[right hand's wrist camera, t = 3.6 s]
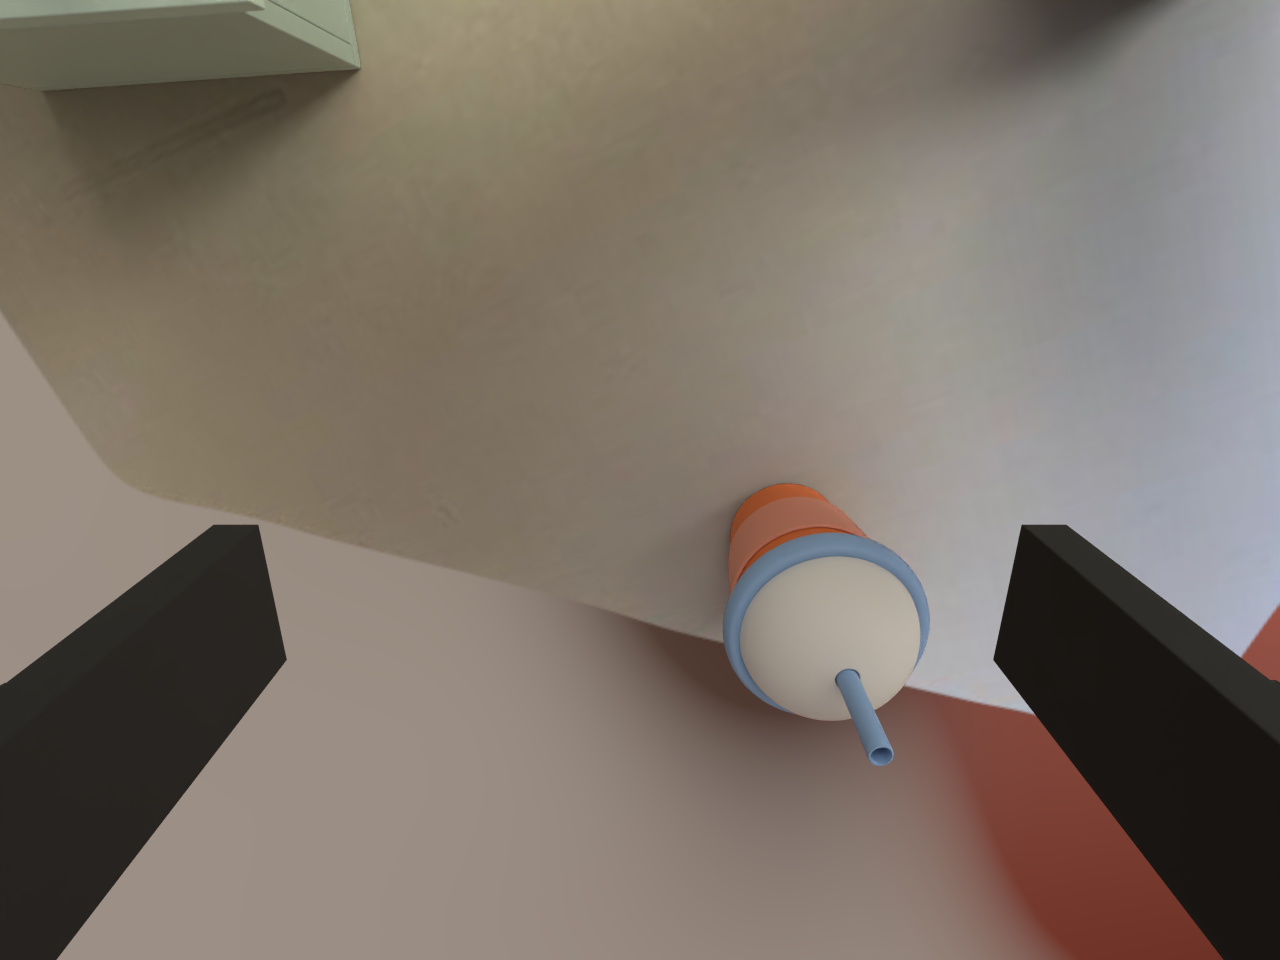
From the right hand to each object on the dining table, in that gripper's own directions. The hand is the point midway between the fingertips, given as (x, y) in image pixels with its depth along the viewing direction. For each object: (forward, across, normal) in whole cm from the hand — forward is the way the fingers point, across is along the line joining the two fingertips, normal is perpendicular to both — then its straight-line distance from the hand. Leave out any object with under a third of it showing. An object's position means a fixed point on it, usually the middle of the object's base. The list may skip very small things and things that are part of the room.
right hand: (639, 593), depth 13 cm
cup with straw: (+27, +8, -11) cm, 30 cm away
